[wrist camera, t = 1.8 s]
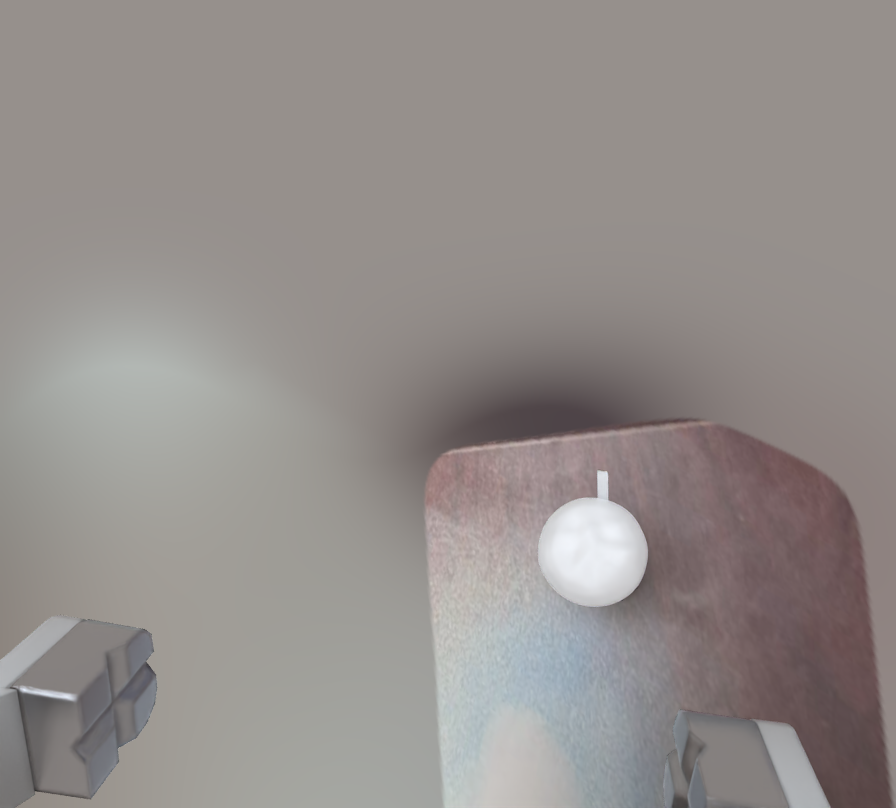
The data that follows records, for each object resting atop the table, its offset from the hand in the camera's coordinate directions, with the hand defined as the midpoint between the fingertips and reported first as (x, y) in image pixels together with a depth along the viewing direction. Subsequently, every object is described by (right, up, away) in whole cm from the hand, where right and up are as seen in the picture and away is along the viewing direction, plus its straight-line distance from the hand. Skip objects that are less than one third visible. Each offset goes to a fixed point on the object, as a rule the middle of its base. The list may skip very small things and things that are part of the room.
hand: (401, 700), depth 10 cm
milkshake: (+9, -4, +26) cm, 28 cm away
